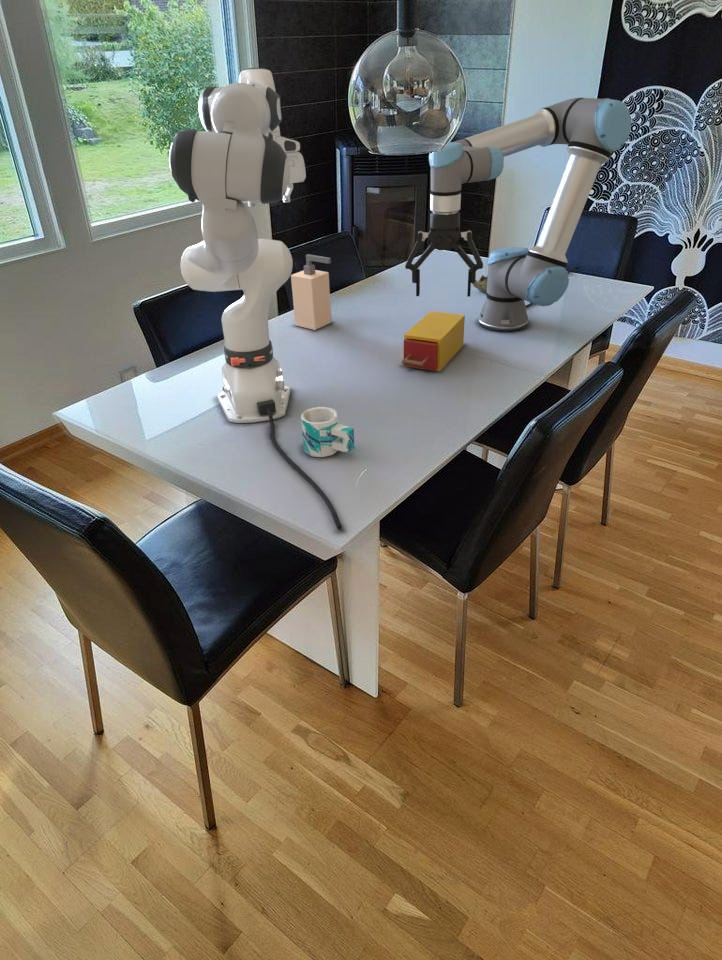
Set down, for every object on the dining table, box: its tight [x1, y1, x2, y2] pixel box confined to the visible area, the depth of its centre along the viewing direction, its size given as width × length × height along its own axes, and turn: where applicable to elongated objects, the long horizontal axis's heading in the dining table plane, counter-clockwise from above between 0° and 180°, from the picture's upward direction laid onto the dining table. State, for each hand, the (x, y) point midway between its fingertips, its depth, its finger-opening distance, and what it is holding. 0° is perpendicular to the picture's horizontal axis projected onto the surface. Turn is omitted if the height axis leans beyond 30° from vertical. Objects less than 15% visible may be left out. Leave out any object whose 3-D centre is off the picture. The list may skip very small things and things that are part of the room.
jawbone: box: [471, 274, 488, 293], centre depth 238 cm, size 9×15×10 cm
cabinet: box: [403, 310, 466, 372], centre depth 191 cm, size 21×11×9 cm, turn 155°
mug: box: [300, 406, 356, 458], centre depth 147 cm, size 8×12×8 cm
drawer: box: [401, 339, 438, 371], centre depth 187 cm, size 25×9×7 cm, turn 155°
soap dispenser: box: [290, 253, 333, 331], centre depth 211 cm, size 13×9×22 cm
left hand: (269, 204), depth 173 cm, fingers open, 8 cm apart
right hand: (443, 295), depth 180 cm, fingers open, 13 cm apart
